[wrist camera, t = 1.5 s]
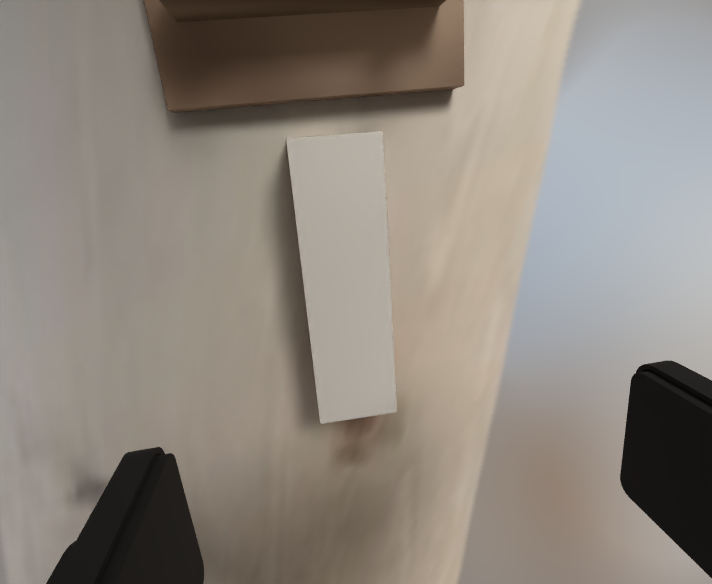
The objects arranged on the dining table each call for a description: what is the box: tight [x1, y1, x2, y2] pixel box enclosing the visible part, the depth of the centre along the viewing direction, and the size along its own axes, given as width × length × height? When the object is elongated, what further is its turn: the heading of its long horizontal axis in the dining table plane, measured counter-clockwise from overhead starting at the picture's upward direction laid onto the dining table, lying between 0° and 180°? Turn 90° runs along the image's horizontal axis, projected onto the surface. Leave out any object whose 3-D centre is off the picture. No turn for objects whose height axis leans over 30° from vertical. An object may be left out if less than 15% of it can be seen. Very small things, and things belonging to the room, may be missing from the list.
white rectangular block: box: [286, 131, 397, 424], centre depth 19 cm, size 12×4×4 cm, turn 4°
